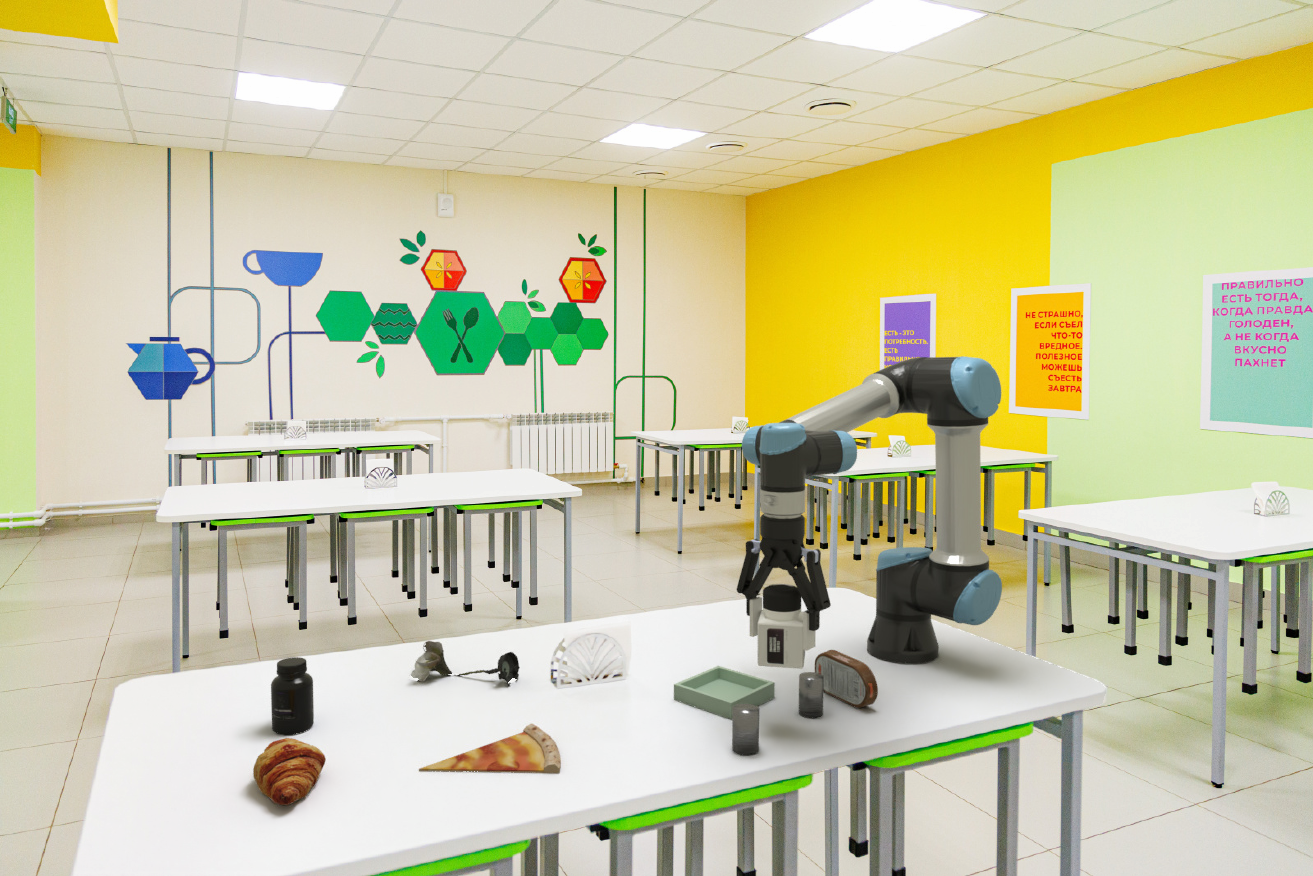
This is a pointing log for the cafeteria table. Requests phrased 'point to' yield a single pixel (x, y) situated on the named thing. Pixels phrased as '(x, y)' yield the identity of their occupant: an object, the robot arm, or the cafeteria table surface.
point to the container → (781, 628)
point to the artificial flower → (436, 662)
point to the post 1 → (745, 729)
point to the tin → (847, 678)
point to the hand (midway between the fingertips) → (781, 641)
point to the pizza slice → (507, 755)
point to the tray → (723, 690)
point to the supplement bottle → (292, 697)
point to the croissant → (288, 770)
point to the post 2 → (811, 695)
